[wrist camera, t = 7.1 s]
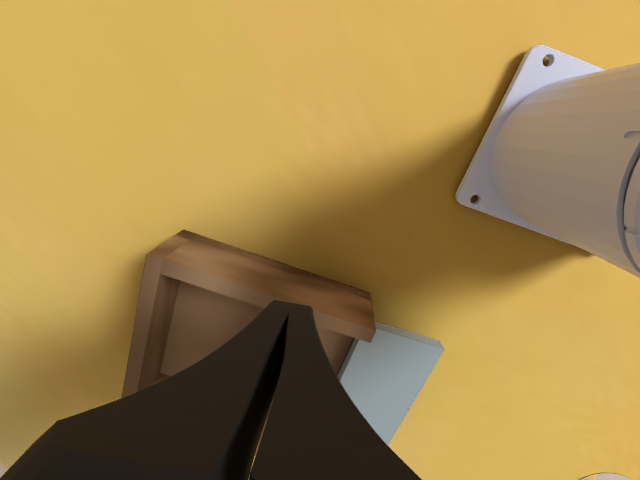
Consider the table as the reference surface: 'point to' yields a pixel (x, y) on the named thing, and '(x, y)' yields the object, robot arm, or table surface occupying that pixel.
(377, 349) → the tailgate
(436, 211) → the table surface
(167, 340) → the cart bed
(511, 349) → the table surface
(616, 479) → the wineglass
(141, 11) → the table surface
